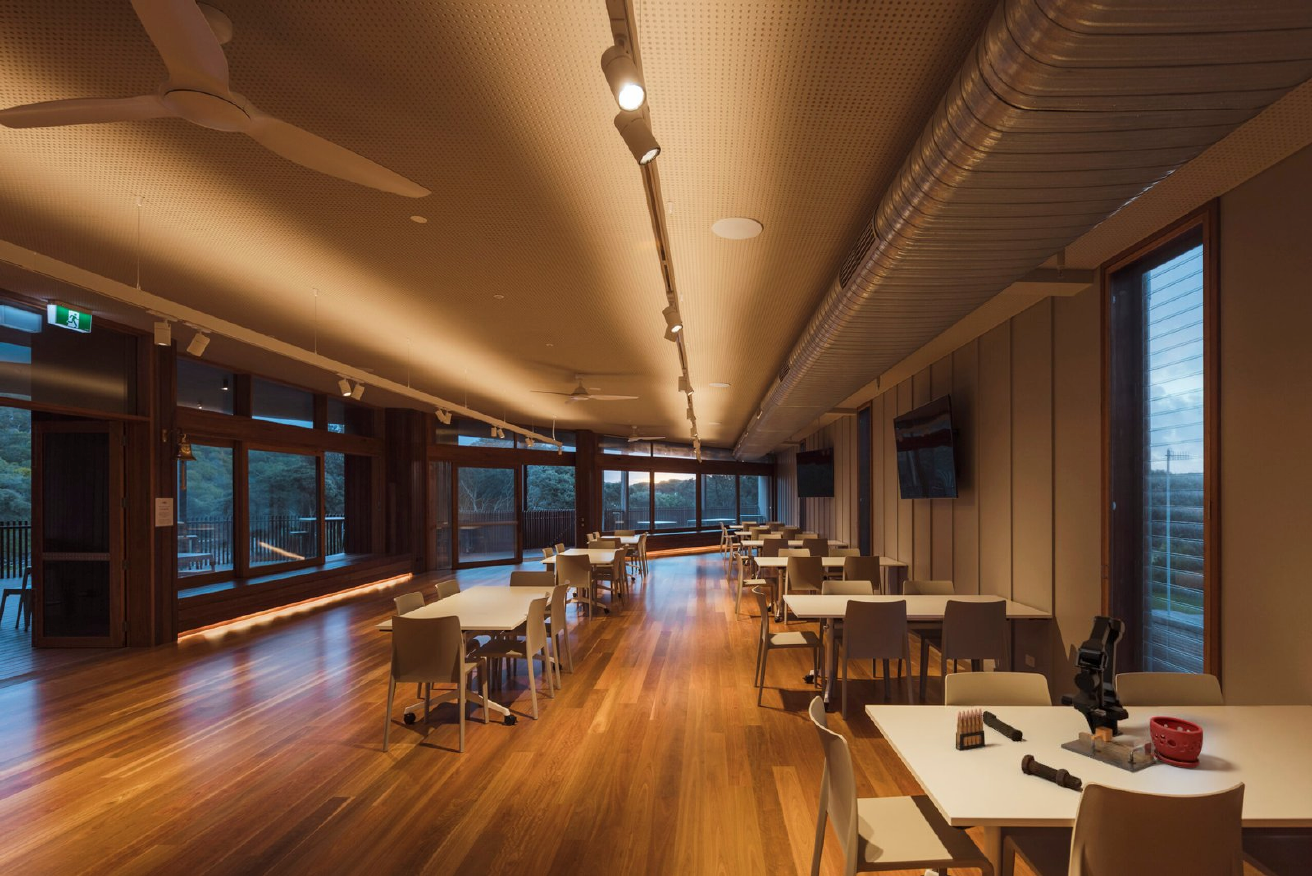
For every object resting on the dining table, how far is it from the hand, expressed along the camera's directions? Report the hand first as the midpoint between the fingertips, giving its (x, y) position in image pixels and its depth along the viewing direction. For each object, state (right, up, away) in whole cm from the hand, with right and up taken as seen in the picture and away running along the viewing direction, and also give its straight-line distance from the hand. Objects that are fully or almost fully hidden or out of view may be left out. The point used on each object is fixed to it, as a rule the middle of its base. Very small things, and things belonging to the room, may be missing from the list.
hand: (1094, 733), depth 221 cm
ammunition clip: (-42, -3, -3) cm, 43 cm away
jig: (-1, -4, -8) cm, 9 cm away
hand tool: (-26, -5, +12) cm, 28 cm away
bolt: (-30, -2, -27) cm, 41 cm away
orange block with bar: (-1, -2, -4) cm, 5 cm away
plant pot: (+18, -4, -12) cm, 22 cm away
